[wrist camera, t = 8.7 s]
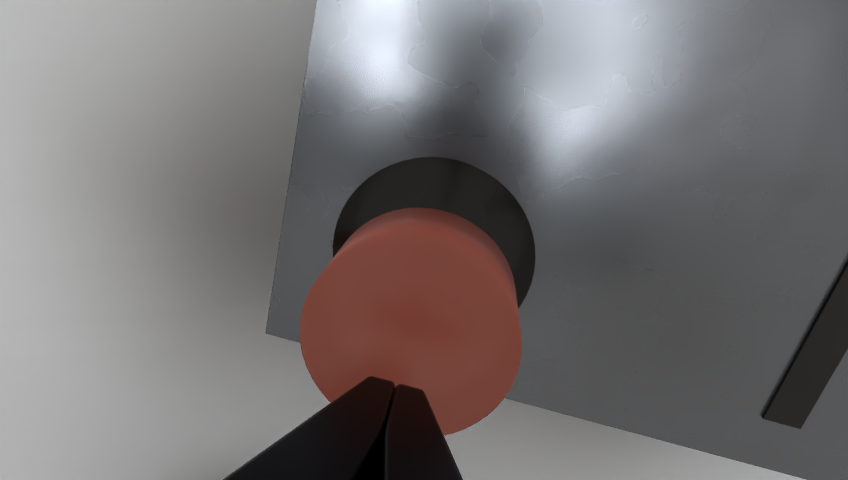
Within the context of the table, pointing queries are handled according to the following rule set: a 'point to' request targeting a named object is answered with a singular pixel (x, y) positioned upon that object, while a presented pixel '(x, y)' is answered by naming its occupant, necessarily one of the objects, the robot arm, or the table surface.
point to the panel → (610, 198)
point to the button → (417, 314)
